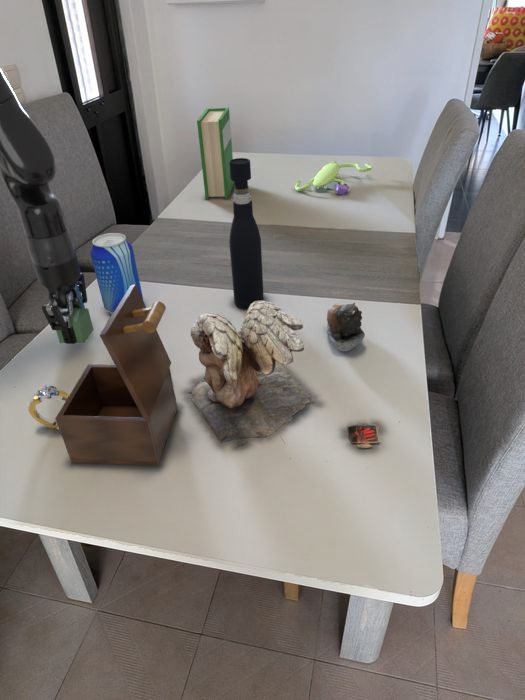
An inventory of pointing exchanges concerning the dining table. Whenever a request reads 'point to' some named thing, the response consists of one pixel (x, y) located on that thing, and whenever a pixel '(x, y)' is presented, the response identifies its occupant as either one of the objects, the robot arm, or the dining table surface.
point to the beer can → (114, 268)
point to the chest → (114, 420)
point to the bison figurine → (344, 326)
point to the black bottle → (244, 240)
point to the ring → (44, 394)
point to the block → (79, 325)
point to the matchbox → (363, 434)
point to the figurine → (331, 177)
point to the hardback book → (216, 151)
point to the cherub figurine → (248, 372)
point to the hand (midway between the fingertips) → (76, 334)
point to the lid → (138, 348)
